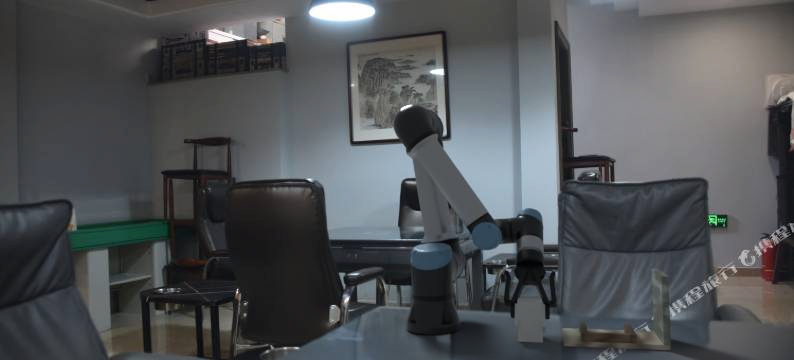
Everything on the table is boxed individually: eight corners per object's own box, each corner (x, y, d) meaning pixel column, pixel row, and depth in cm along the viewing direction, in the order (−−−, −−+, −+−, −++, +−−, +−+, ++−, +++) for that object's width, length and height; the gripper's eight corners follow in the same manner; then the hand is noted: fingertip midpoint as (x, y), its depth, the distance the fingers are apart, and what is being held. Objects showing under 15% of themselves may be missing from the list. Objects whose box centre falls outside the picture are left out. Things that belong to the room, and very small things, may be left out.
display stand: (564, 346, 140) (561, 275, 140) (562, 332, 152) (560, 267, 152) (671, 350, 133) (668, 276, 134) (660, 336, 146) (657, 268, 146)
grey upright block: (518, 341, 145) (517, 301, 145) (519, 335, 151) (518, 297, 151) (542, 342, 143) (541, 302, 143) (543, 336, 149) (541, 297, 149)
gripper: (565, 264, 160) (569, 338, 144) (496, 263, 164) (493, 335, 148) (565, 247, 155) (569, 322, 138) (494, 247, 159) (490, 319, 143)
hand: (530, 328), depth 143 cm, fingers closed on grey upright block, 6 cm apart
